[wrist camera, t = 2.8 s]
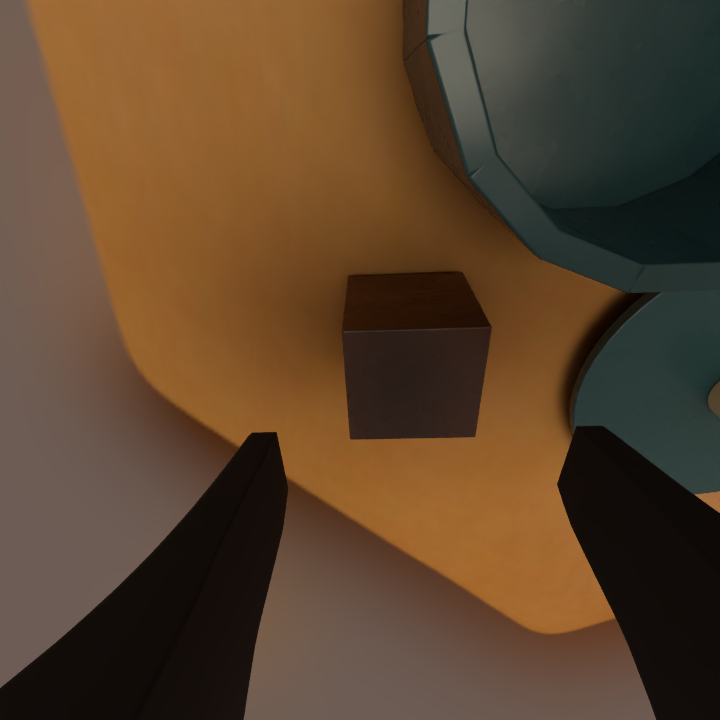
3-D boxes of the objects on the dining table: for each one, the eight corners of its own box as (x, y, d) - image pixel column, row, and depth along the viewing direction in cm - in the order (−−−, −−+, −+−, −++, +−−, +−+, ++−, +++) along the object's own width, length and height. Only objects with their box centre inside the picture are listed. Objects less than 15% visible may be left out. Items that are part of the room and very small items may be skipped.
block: (463, 271, 15) (492, 326, 12) (453, 367, 18) (475, 437, 14) (347, 275, 16) (341, 331, 12) (353, 369, 18) (349, 440, 14)
